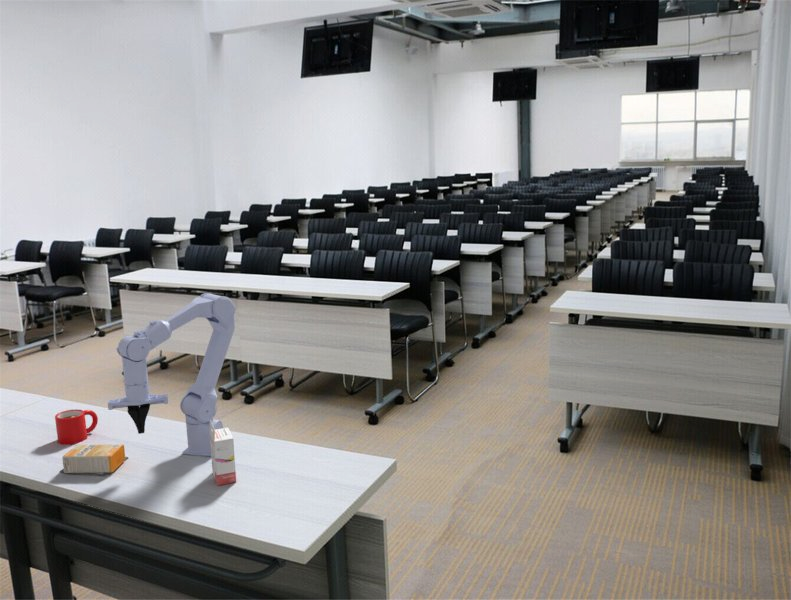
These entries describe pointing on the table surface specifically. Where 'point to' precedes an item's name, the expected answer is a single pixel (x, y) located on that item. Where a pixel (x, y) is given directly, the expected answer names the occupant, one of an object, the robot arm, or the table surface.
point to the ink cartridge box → (222, 455)
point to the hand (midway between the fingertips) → (141, 432)
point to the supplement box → (93, 458)
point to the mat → (92, 473)
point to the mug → (74, 426)
